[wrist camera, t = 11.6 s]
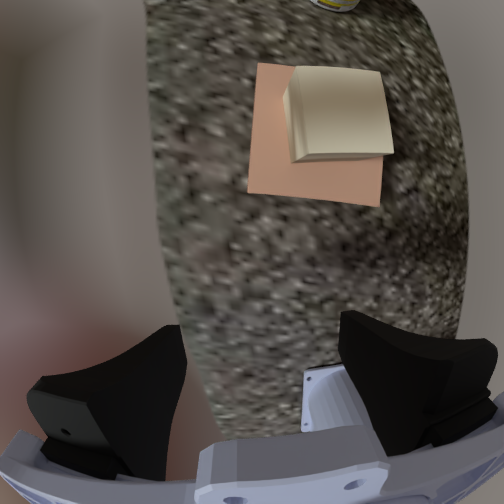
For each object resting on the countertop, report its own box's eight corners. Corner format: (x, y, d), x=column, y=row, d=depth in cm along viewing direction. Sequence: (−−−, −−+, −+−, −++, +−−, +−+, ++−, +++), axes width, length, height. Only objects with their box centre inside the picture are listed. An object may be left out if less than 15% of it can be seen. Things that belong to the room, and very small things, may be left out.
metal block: (356, 161, 16) (394, 153, 12) (290, 163, 16) (308, 153, 12) (347, 97, 15) (379, 72, 11) (282, 97, 15) (296, 65, 11)
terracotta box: (357, 203, 21) (379, 207, 17) (246, 192, 21) (247, 192, 17) (362, 100, 19) (382, 86, 15) (255, 83, 19) (258, 62, 15)
